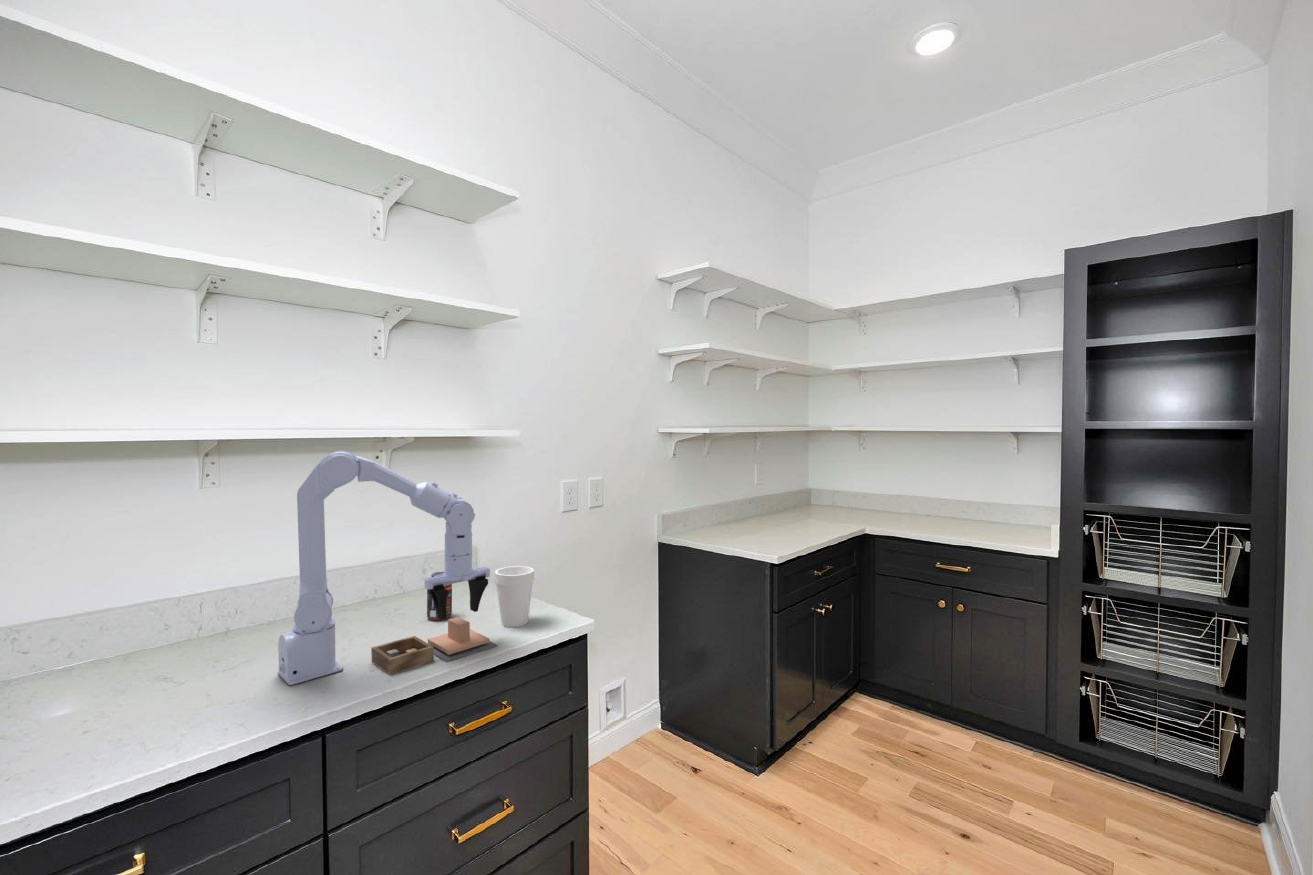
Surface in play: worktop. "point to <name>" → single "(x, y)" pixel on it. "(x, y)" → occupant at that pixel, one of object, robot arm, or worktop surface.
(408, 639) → the box
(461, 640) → the lid
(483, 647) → the mat
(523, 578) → the foam cup
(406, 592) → the worktop surface
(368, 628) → the worktop surface
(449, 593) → the supplement bottle
